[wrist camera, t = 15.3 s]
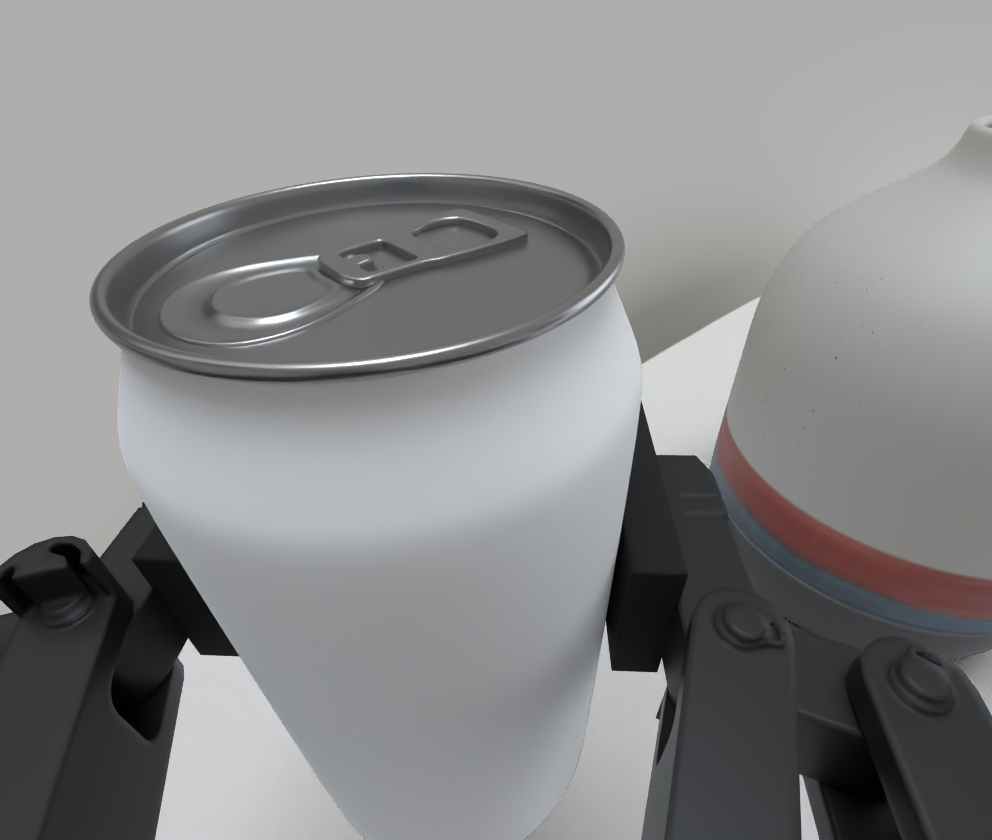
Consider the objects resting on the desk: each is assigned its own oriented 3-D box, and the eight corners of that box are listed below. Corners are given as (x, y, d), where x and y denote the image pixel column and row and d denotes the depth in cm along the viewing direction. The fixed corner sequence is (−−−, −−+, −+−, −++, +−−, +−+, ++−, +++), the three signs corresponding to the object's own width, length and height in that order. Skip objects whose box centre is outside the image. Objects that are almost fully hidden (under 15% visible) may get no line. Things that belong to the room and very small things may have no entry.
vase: (640, 553, 34) (734, 136, 19) (764, 432, 42) (893, 84, 28) (960, 774, 24) (1673, 259, 9) (1034, 556, 33) (1453, 118, 18)
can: (281, 697, 14) (1, 234, 6) (475, 560, 17) (440, 147, 10) (419, 968, 10) (106, 579, 2) (639, 724, 13) (794, 233, 6)
